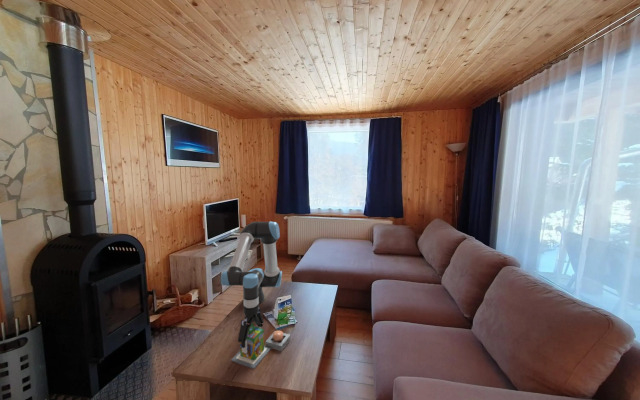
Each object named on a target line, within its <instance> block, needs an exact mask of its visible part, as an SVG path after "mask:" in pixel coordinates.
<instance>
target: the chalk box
mask: <svg viewBox="0 0 640 400" xmlns="http://www.w3.org/2000/svg"><path fill="white" fill-rule="evenodd" d="M246 340H247V353H243V352H242V347H241V342H239V348H240V349H239V351H240V356H243V357H246V358H249V359H252V360H255V359H256V358H257V357H258V356H259V355H260V353H261V352H262V351H263V350H264V345H265V329H264V328H262V327H261V328H258V327H256V326H255V325H254V322H253V323H252V324H251V327H250V328H249V331H248V335H247V338H246Z"/></svg>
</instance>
